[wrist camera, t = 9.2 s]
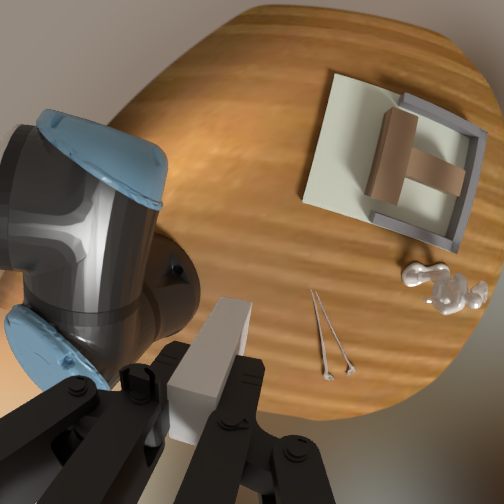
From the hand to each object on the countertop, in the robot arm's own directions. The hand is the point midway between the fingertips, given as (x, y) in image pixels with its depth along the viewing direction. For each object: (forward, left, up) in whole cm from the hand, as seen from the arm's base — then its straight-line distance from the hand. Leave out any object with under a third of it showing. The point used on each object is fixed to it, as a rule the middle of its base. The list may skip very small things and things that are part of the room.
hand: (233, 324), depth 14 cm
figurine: (+21, +1, -23) cm, 31 cm away
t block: (+13, +12, -22) cm, 29 cm away
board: (+11, +12, -23) cm, 29 cm away
